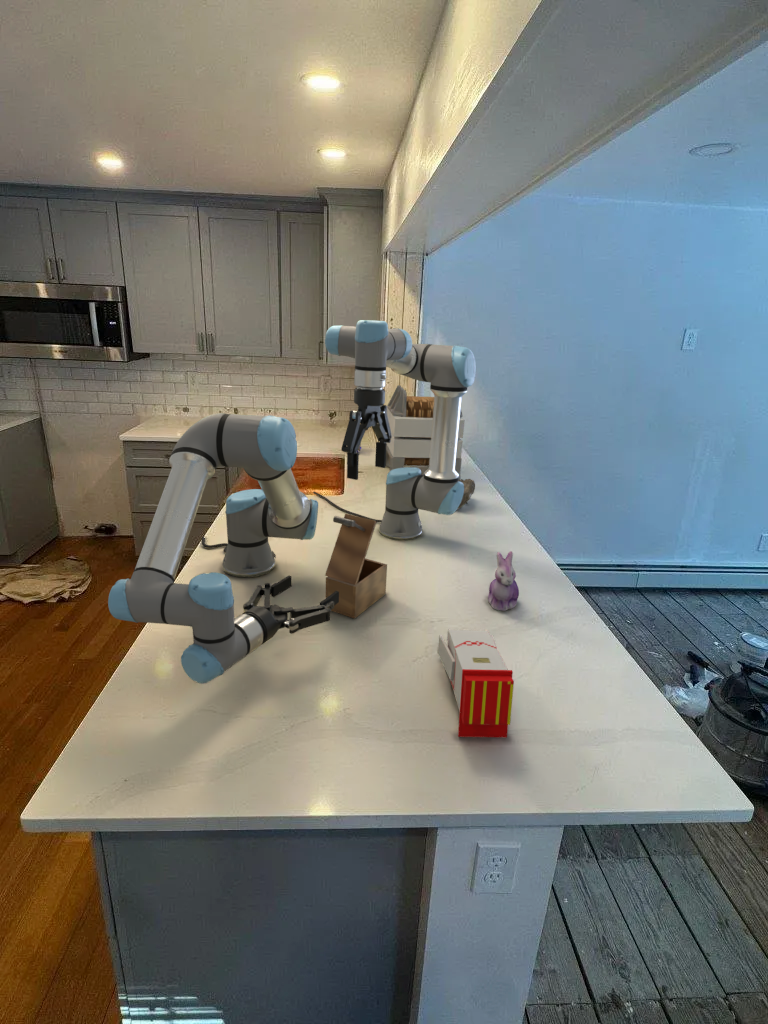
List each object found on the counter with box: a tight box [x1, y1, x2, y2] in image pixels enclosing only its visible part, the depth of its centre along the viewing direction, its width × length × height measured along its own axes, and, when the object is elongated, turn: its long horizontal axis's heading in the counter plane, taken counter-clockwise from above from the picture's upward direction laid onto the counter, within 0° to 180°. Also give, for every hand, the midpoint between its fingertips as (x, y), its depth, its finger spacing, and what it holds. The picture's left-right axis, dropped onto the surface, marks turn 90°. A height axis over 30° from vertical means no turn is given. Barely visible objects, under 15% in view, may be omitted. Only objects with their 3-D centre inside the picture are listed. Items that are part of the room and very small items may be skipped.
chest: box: [325, 557, 388, 620], centre depth 151 cm, size 16×9×9 cm, turn 150°
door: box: [324, 513, 378, 585], centre depth 141 cm, size 17×9×9 cm
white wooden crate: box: [385, 384, 465, 480], centre depth 268 cm, size 34×33×41 cm
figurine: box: [487, 550, 520, 612], centre depth 153 cm, size 9×10×15 cm
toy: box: [437, 628, 515, 738], centre depth 117 cm, size 12×13×30 cm
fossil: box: [457, 478, 476, 510], centre depth 232 cm, size 22×10×15 cm
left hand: (313, 588), depth 133 cm, fingers open, 13 cm apart
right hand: (366, 472), depth 144 cm, fingers open, 13 cm apart
